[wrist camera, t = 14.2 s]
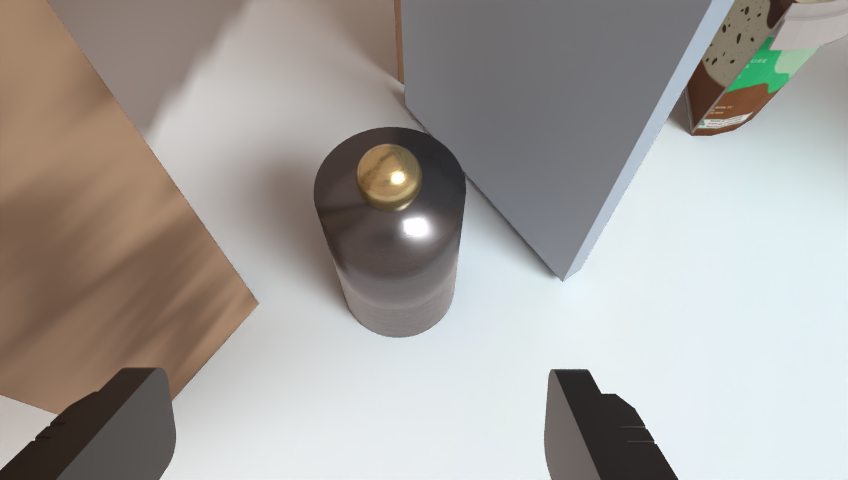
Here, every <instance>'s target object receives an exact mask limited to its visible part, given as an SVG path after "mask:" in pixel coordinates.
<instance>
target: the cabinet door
mask: <svg viewBox="0 0 848 480" xmlns="http://www.w3.org/2000/svg"><path fill="white" fill-rule="evenodd" d="M734 1H735V0H401V22H402V45H403V67H404V89H405V106H406V107H407V108H408V109H409V111H410V112H411V113H412V114H413V115H414V116H415V117H416V118H417V120H418V121H419V122H420V123H421V124H422V125H423V126H424V127H425V128H426V130H427V131H428V132H429V133H430V134H431V135H432V136H433V137H434V138H435V139H437V140H438V141H440V142H441V143H442V144H444V145H445V146H446V147H447V148H448V149H449V150H450V151H451V152H452V153H453V154H454V156H455V157H456V159H457V160H458V162H459V164H460V166H461V168H462V170H463V171H464V172H465V173H466V174H467V176H468V177H469V178H470V179H471V180H472V181H473V182H474V183H475V185H476V186H477V187H478V188H479V189H480V190H481V191H482V192H483V193H484V195H485V196H486V197H487V198H488V199H489V200H490V201H491V202H492V204H493V205H494V206H495V207H496V208H497V209H498V210H499V211H500V213H501V214H502V215H503V216H504V217H505V218H506V219H507V220H508V221H509V223H510V224H511V225H512V226H513V227H514V228H515V229H516V230H517V232H518V233H519V234H520V235H521V236H522V237H523V238H524V239H525V241H526V242H527V243H528V244H529V245H530V246H531V247H532V248H533V250H534V251H535V252H536V253H537V254H538V255H539V256H540V257H541V258H542V260H543V261H544V262H545V263H546V264H547V265H548V266H549V267H550V269H551V270H552V271H553V272H554V273H555V274H556V275H557V276H558V278H559V279H560V280H561V281H562V282H563V281H565V280H566V279H567V278H569V277H570V276H572V275H573V274H575V273H576V272H577V271H579V270H580V269H581V267H582V266H583V264H584V262H585V260H586V259H587V257H588V255H589V253H590V252H591V250H592V248H593V246H594V245H595V243H596V241H597V240H598V238H599V236H600V234H601V233H602V231H603V229H604V227H605V226H606V224H607V222H608V220H609V219H610V217H611V215H612V213H613V212H614V210H615V208H616V206H617V205H618V203H619V201H620V199H621V198H622V196H623V194H624V193H625V191H626V189H627V187H628V186H629V184H630V182H631V180H632V179H633V177H634V175H635V173H636V172H637V170H638V168H639V166H640V165H641V163H642V161H643V159H644V158H645V156H646V154H647V152H648V151H649V149H650V147H651V145H652V144H653V142H654V140H655V139H656V137H657V135H658V133H659V132H660V130H661V128H662V126H663V125H664V123H665V121H666V119H667V118H668V116H669V114H670V112H671V111H672V109H673V107H674V105H675V104H676V102H677V100H678V98H679V97H680V95H681V93H682V92H683V90H684V88H685V86H686V85H687V83H688V81H689V79H690V78H691V76H692V74H693V72H694V71H695V69H696V67H697V65H698V64H699V62H700V60H701V58H702V57H703V55H704V53H705V51H706V50H707V48H708V46H709V45H710V43H711V41H712V39H713V38H714V36H715V34H716V32H717V31H718V29H719V27H720V25H721V24H722V22H723V20H724V18H725V17H726V15H727V13H728V11H729V10H730V8H731V6H732V4H733V3H734Z"/></svg>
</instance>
